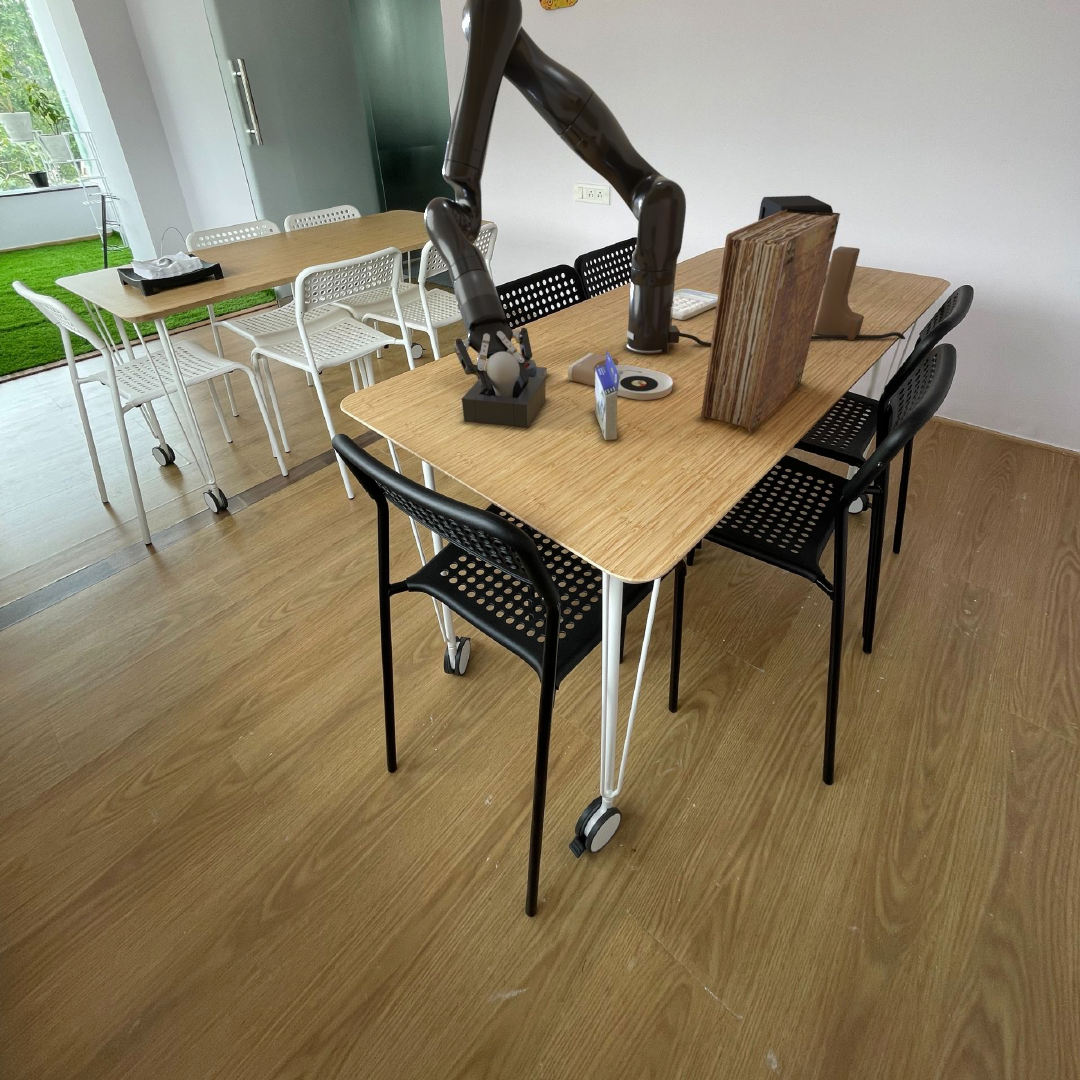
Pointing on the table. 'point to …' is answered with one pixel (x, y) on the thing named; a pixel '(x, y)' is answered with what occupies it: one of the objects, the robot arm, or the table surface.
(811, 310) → the book
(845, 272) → the wooden block
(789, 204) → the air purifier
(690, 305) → the calculator
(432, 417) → the table surface
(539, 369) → the switch
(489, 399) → the socket
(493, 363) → the lightbulb
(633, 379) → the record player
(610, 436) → the ink box
